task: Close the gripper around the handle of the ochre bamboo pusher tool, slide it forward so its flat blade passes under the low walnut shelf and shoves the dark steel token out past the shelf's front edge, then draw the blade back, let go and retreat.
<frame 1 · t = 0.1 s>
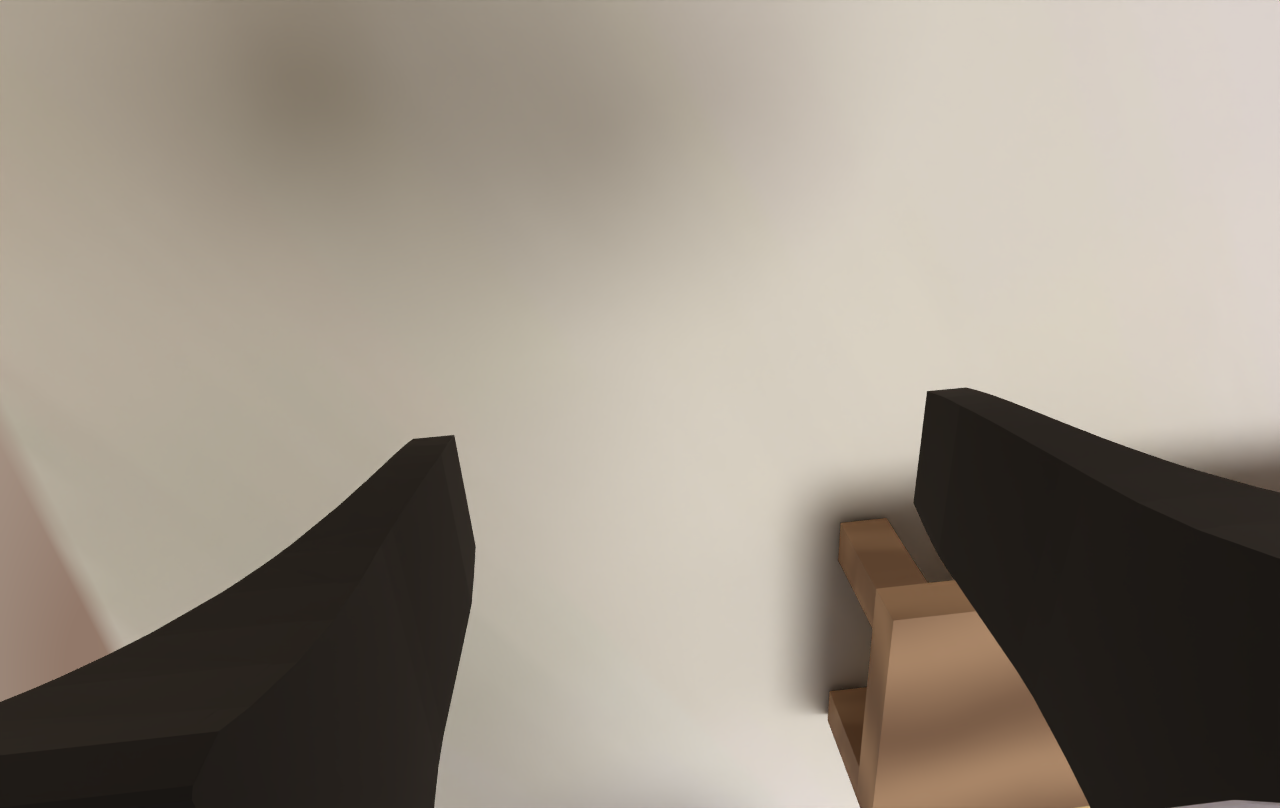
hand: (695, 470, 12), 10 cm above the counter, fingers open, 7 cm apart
shelf: (1111, 597, 27), on the counter
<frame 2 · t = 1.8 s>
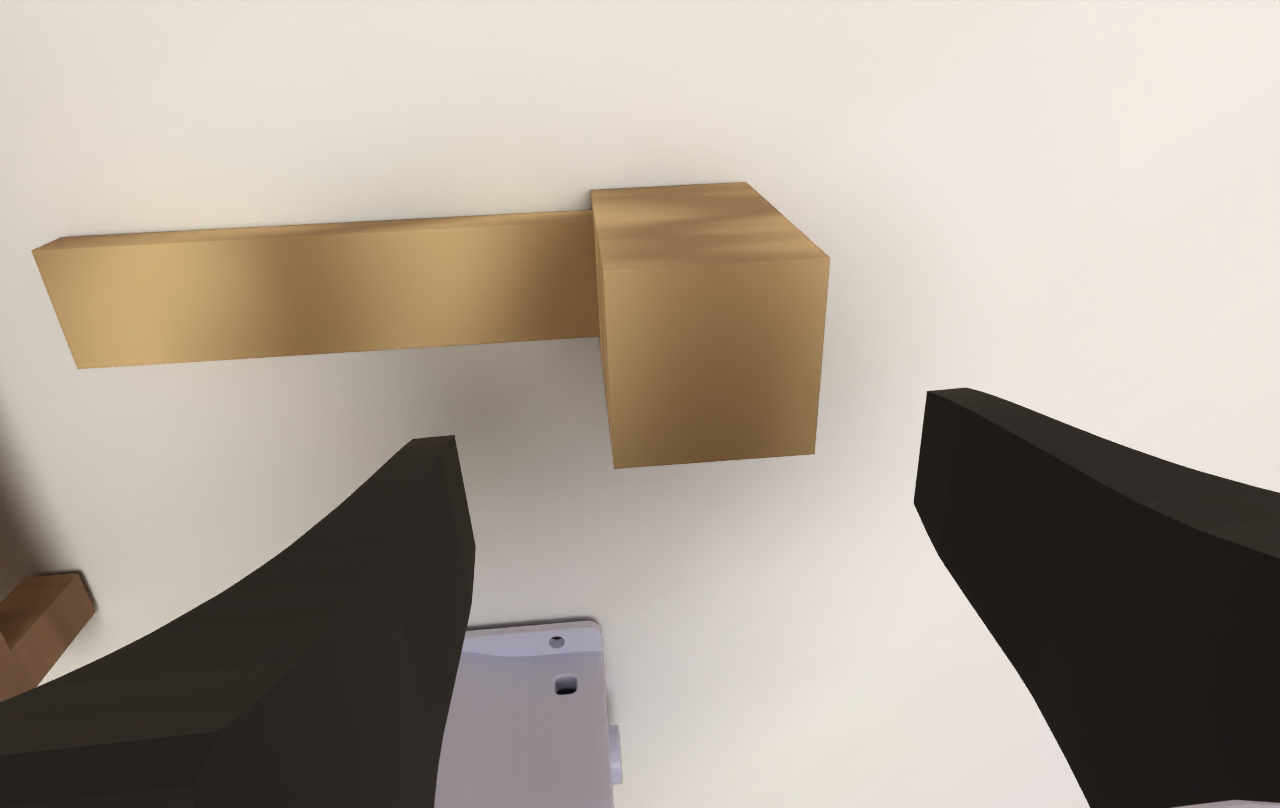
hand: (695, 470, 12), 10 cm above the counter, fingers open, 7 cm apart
tool: (670, 262, 21), on the counter
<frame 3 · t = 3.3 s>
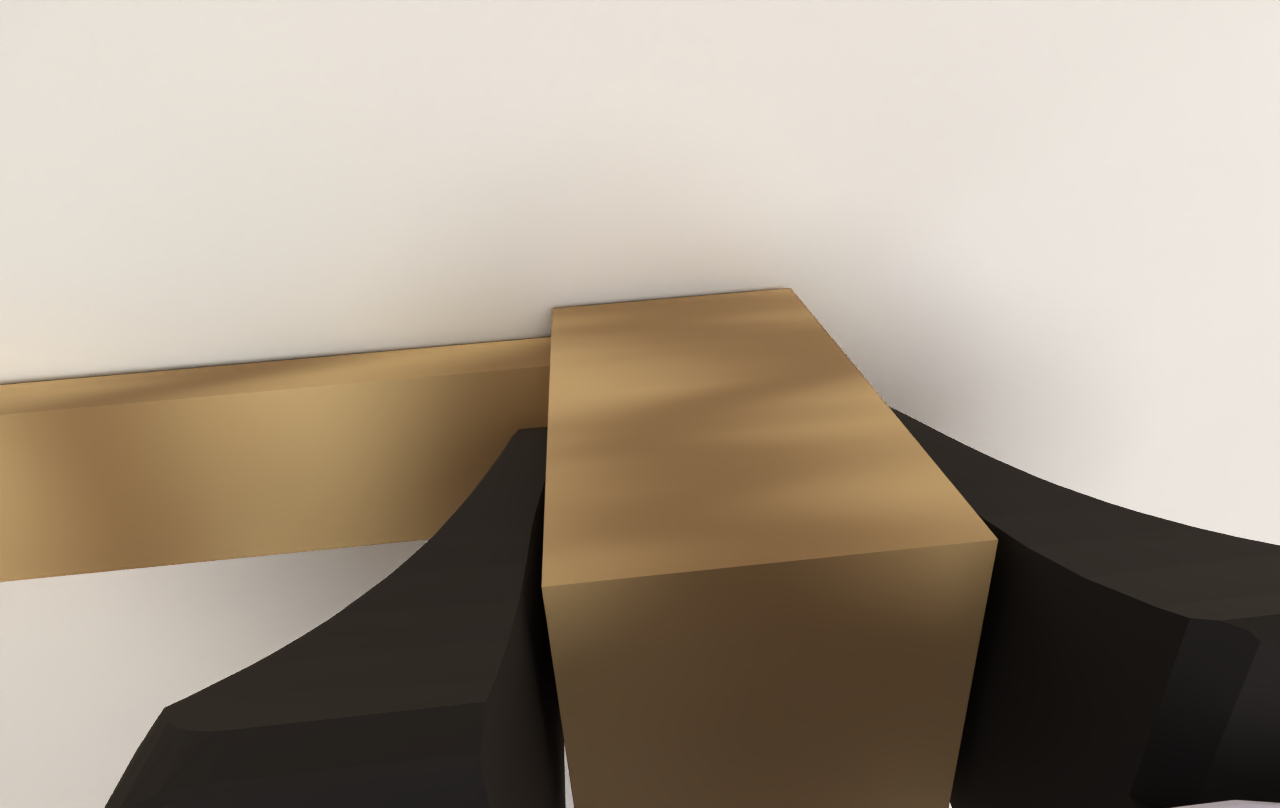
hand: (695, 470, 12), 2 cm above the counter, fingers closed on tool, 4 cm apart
tool: (676, 405, 14), on the counter, touching gripper
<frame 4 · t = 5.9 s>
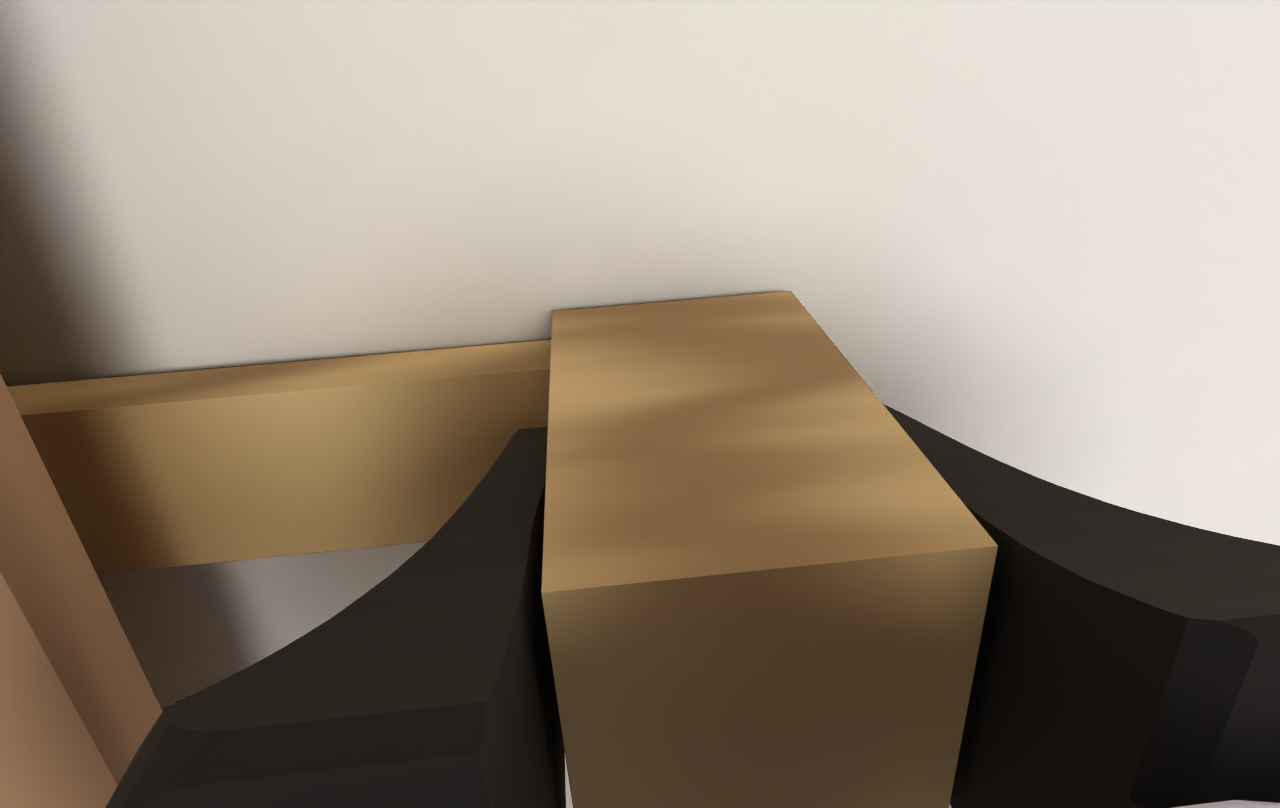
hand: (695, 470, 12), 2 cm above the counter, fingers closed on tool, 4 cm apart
tool: (676, 407, 14), on the counter, touching gripper
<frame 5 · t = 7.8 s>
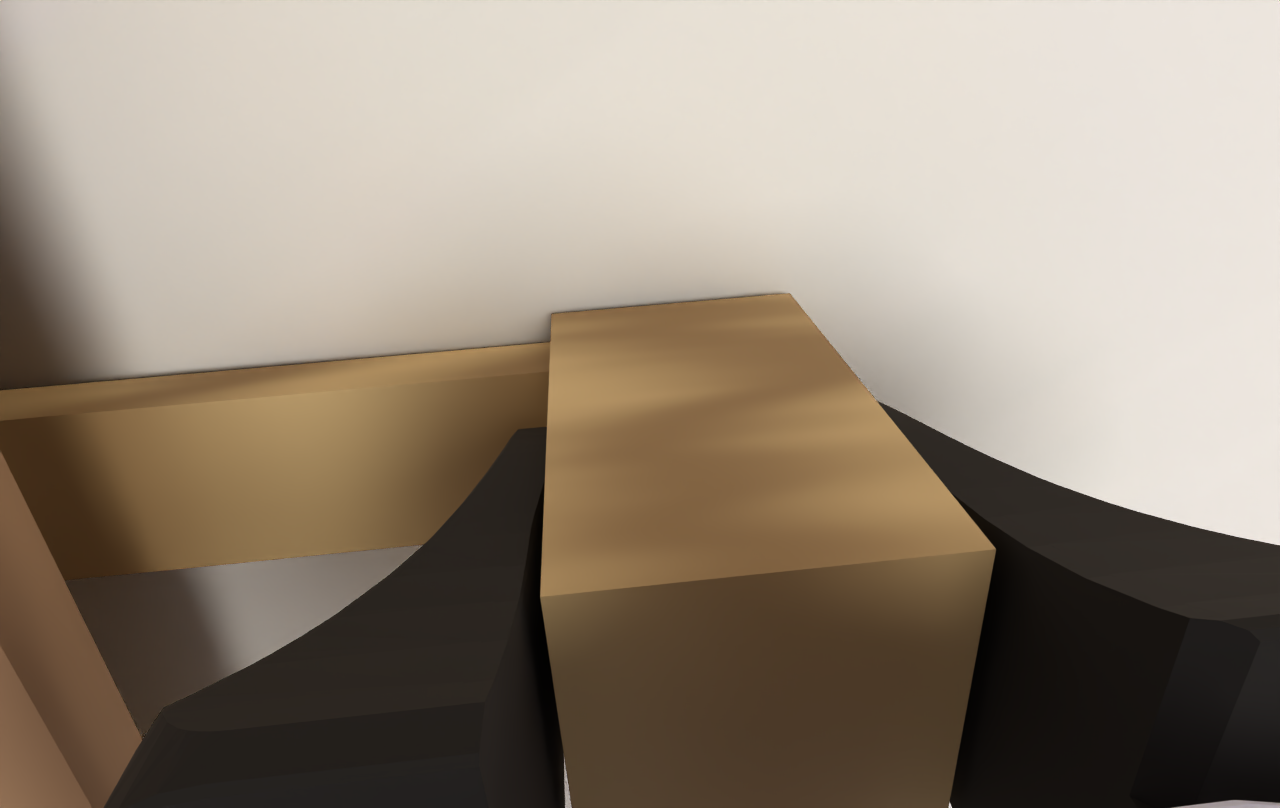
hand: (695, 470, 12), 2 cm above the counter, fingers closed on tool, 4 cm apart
tool: (676, 409, 14), on the counter, touching gripper
when the fingers open (2 cm above the counter, at t = 8.9 s): tool stays where it is, on the counter.
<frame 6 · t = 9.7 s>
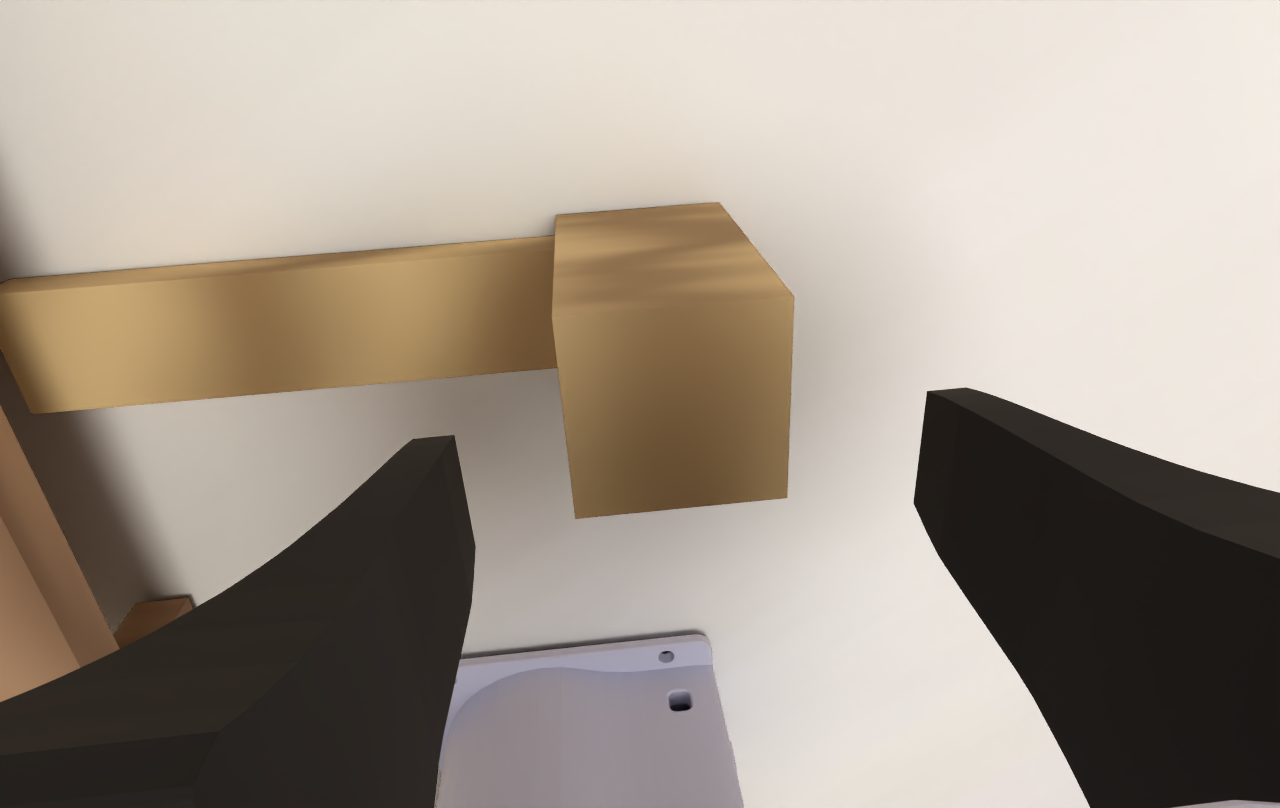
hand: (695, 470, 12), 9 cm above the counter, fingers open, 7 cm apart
tool: (642, 287, 20), on the counter
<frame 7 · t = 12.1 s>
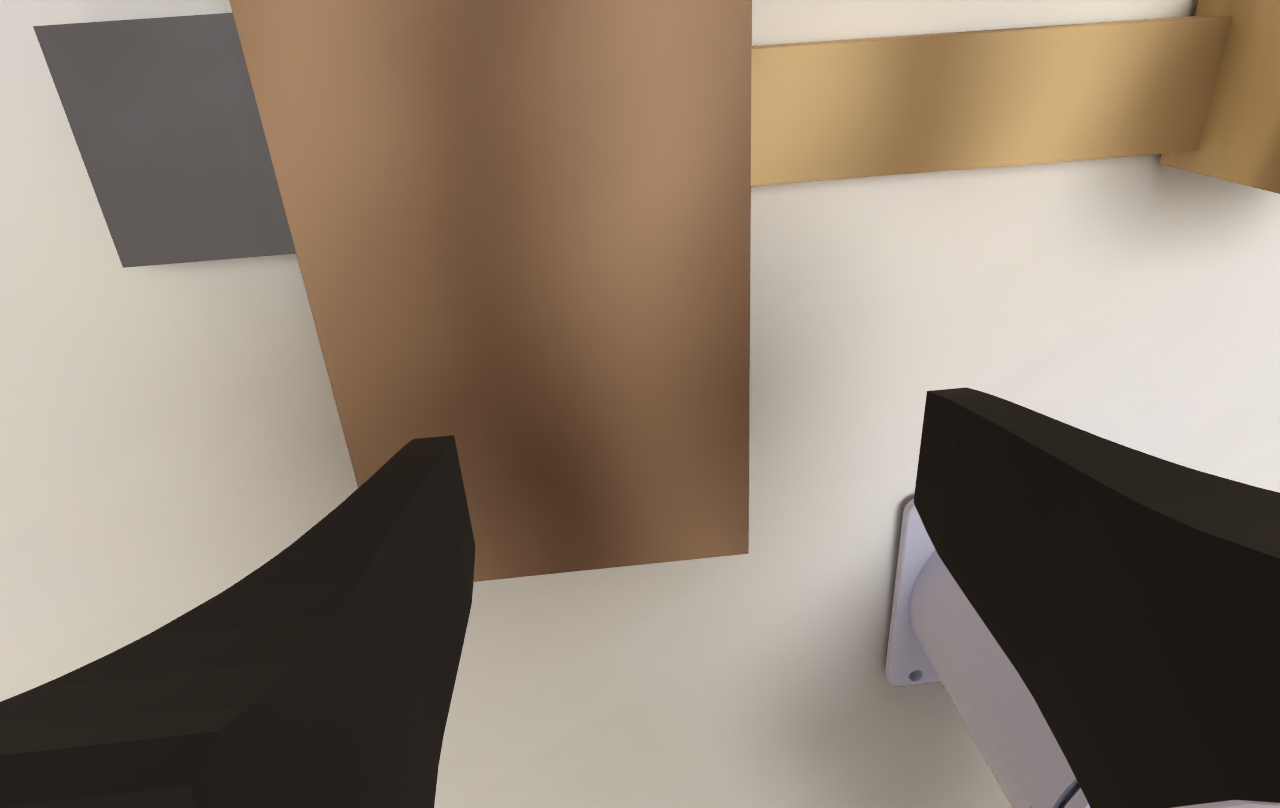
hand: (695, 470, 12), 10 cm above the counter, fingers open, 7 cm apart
token: (234, 133, 19), on the counter
tool: (1254, 76, 20), on the counter
shelf: (526, 124, 19), on the counter
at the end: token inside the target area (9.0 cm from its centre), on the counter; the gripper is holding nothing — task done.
